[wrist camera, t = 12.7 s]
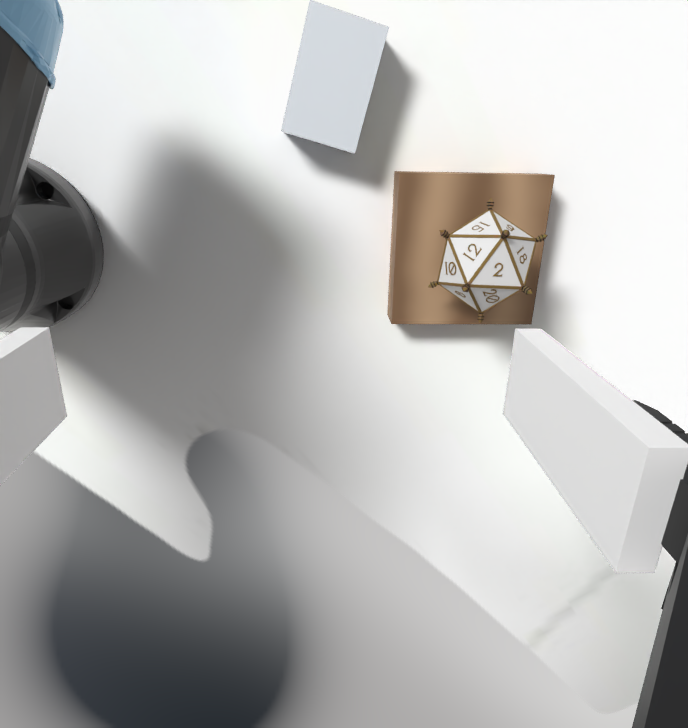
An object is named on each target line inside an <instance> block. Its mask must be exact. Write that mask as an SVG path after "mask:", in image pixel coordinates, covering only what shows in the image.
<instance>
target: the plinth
mask: <svg viewBox="0 0 688 728" xmlns="http://www.w3.org/2000/svg"><path fill="white" fill-rule="evenodd" d="M553 182H554V175H548V174H524V173H464V172H404V171H395V173H394V194H393V214H392V234H391V254H390V274H389V295H388V317H389V319H390V322H391V324H531V323H532V316H533V310H534V304H535V297H536V291H537V284H538V278H539V271H540V265H541V259H542V252H543V246H544V241H541V242H537V243H536V247H535V251H534V255H533V259H532V262H531V266H530V270H529V274H528V278H527V282H526V287H529V288H531V290H532V294H526V293H524V292H522V291H520V292H518V293H516V294H515V295H513V296H511V297H510V298H508V299H506V300H505V301H503V302H501V303H499V304H498V305H496V306H494V307H493V308H491V309H489V310H488V311H486V312H484V313H483V316H484V320H483V321H482V322H481V323H479V321H478V320H477V319H478V315H479V312H477V311H476V310H474V309H473V308H471V307H470V306H469V305H467V304H466V303H464V302H463V301H461V300H460V299H459V298H457V297H456V296H454V295H453V294H451V293H450V292H449V291H447V290H446V289H444V288H443V287H441V286H440V285H437V286H436V287H434V288H429V287H428V286H429V285H430V282H433V281H437V279H438V275H439V270H440V265H441V261H442V256H443V251H444V247H445V242H446V239H445V237H444V238H443V236H441V233H440V231H439V230H446V231H448V233H449V234H450V233H452V232H453V231H455V230H456V229H458V228H459V227H461V226H463V225H464V224H466V223H467V222H469V221H470V220H472V219H474V218H475V217H477V216H478V215H480V214H482V213H483V212H485V211H486V210H488V206H487V204H488V203H487V202H488V201H489V200H490V198H492V200H493V202H494V203H493V205H494V206H493V208H492V210H494V211H495V212H497V213H498V214H500V215H501V216H503V217H504V218H506V219H507V220H509V221H510V222H512V223H513V224H515V225H516V226H518V227H519V228H521V229H522V230H523V231H525V232H526V233H528V234H529V235H531V236H532V237H534V238H537V237H538V236H540V235H541V234H542V235H545V233H546V227H547V220H548V214H549V207H550V201H551V195H552V188H553Z"/></svg>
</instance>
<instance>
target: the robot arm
mask: <svg viewBox="0 0 688 728" xmlns="http://www.w3.org/2000/svg"><path fill="white" fill-rule="evenodd" d="M62 33H63V14H62V10H61V8H60V5H59V3H58V1H57V0H0V332H10V331H14V332H12V333H10V334H9V335H7V336H5V337H3V338H2V339H0V486H1V485H2V484H3V483H4V481H5V480H6V479H7V478H8V477H9V476H10V475H11V474H12V473H13V472H14V471H15V470H16V469H17V468H18V467H19V466H20V465H21V464H22V463H23V462H24V461H25V460H26V459H27V457H28V456H29V455H30V454H31V453H32V452H33V451H34V450H35V449H36V448H37V447H38V446H39V445H40V444H41V443H42V442H43V441H44V440H45V439H46V438H47V437H48V436H49V434H50V433H51V432H52V431H53V430H54V429H55V428H56V427H57V426H58V425H59V424H60V423H61V422H62V421H63V420H64V419H65V418H66V417H67V414H66V409H65V404H64V399H63V394H62V389H61V384H60V379H59V374H58V369H57V364H56V359H55V354H54V349H53V344H52V339H51V334H50V329H49V326H52V325H54V324H56V323H59V322H60V321H62V320H64V319H65V318H67V317H69V316H70V315H72V314H73V313H75V312H76V311H78V310H79V309H80V308H81V307H82V306H83V305H84V304H85V303H86V302H87V301H88V300H89V299H90V297H91V296H92V294H93V293H94V291H95V289H96V287H97V285H98V283H99V280H100V277H101V272H102V267H103V246H102V240H101V236H100V232H99V229H98V226H97V223H96V221H95V218H94V216H93V214H92V212H91V211H90V209H89V207H88V206H87V204H86V203H85V201H84V200H83V198H82V197H81V196H80V194H79V193H78V192H77V191H76V190H75V189H74V188H73V187H72V186H71V185H70V184H69V183H68V182H67V181H66V180H65V179H64V178H63V177H61V176H60V175H59V174H58V173H56V172H55V171H53V170H52V169H50V168H49V167H47V166H45V165H44V164H42V163H40V162H38V161H35V160H33V159H31V158H29V157H30V154H31V150H32V147H33V143H34V140H35V136H36V133H37V129H38V126H39V122H40V119H41V115H42V112H43V108H44V105H45V101H46V97H47V94H48V90H49V88H50V89H53V88H54V85H55V76H54V74H53V72H54V68H55V63H56V59H57V55H58V50H59V46H60V42H61V37H62ZM503 415H504V416H505V417H506V419H507V420H508V422H509V423H510V424H511V426H512V427H513V429H514V430H515V432H516V433H517V434H518V436H519V437H520V439H521V440H522V441H523V443H524V444H525V446H526V447H527V449H528V450H529V451H530V453H531V454H532V456H533V457H534V458H535V460H536V461H537V463H538V464H539V465H540V467H541V468H542V470H543V471H544V473H545V474H546V475H547V477H548V478H549V480H550V481H551V482H552V484H553V485H554V487H555V488H556V490H557V491H558V492H559V494H560V495H561V497H562V498H563V499H564V501H565V502H566V504H567V505H568V507H569V508H570V509H571V511H572V512H573V514H574V515H575V516H576V518H577V519H578V521H579V522H580V524H581V525H582V526H583V528H584V529H585V531H586V532H587V533H588V535H589V536H590V538H591V539H592V540H593V542H594V543H595V545H596V546H597V548H598V549H599V550H600V552H601V553H602V555H603V556H604V557H605V559H606V560H607V562H608V563H609V565H610V566H611V567H612V569H613V570H614V572H615V573H655V569H656V566H657V563H658V560H659V556H660V553H661V550H662V546H663V547H664V548H665V549H666V550H667V552H668V553H669V554H670V555H671V556H672V557H673V558H674V560H675V561H676V564H675V567H674V570H673V573H672V576H671V580H670V583H669V586H668V589H667V592H666V595H665V598H664V602H663V605H662V608H661V609H663V611H662V615H661V618H660V622H659V626H658V630H657V634H656V638H655V641H654V645H653V649H652V653H651V657H650V661H649V664H648V668H647V672H646V676H645V680H644V684H643V687H642V691H641V695H640V699H639V703H638V707H637V710H636V715H635V718H634V722H633V726H632V728H688V433H687V434H685V431H684V430H683V429H681V428H680V427H679V426H677V425H676V424H672V421H671V420H669V419H668V418H667V417H665V416H664V415H663V414H661V413H660V412H659V411H658V410H656V409H653V408H651V407H649V406H647V405H645V404H642V403H640V402H638V401H636V400H631V399H630V398H629V397H627V396H626V395H625V394H624V393H622V392H621V391H620V390H619V389H617V388H616V387H615V386H614V385H612V384H611V383H610V382H608V381H607V380H606V379H605V378H603V377H602V376H601V375H600V374H598V373H597V372H596V371H594V370H593V369H592V368H591V367H589V366H588V365H587V364H586V363H584V362H583V361H582V360H581V359H579V358H578V357H577V356H575V355H574V354H573V353H572V352H570V351H569V350H568V349H567V348H565V347H564V346H563V345H561V344H560V343H559V342H558V341H556V340H555V339H554V338H553V337H551V336H550V335H549V334H548V333H546V332H545V331H544V330H542V329H515V334H514V341H513V348H512V355H511V362H510V369H509V375H508V382H507V389H506V396H505V403H504V410H503Z"/></svg>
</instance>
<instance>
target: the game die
mask: <svg viewBox="0 0 688 728" xmlns="http://www.w3.org/2000/svg"><path fill="white" fill-rule="evenodd" d="M487 203H488V204H487V206H488V210H486V211H485V212H483V213H482V214H480V215H478V216H477V217H475V218H474V219H472V220H470V221H469V222H467V223H466V224H464V225H463V226H461V227H459V228H458V229H456V230H455V231H453V232H452V233H450V234H449V233H448V231H446V230H439V231H440V233H441V236H443V238H444V237H445V239H446V242H445V247H444V251H443V256H442V261H441V265H440V270H439V275H438V279H437V281H433V282H430V285H429V286H428V287H429V288H434V287H436V286H437V285H440V286H441V287H443V288H444V289H446V290H447V291H449V292H450V293H451V294H453V295H454V296H456V297H457V298H459V299H460V300H461V301H463V302H464V303H466V304H467V305H469V306H470V307H471V308H473V309H474V310H476V311H477V312H479V315H478V319H477V320H478V321H479V323H481V322H482V321H483V320H484V316H483V313H484V312H486V311H488V310H489V309H491V308H493V307H494V306H496V305H498V304H499V303H501V302H503V301H505V300H506V299H508V298H510V297H511V296H513V295H515V294H516V293H518V292H520V291H522V292H524V293H526V294H532V290H531V288H529V287H526V282H527V278H528V274H529V270H530V266H531V262H532V259H533V255H534V251H535V247H536V243H537V242H541V241H544V239H545V238H546V237H547V235H542V234H541V235H540V236H538V237H537V238H534V237H532V236H531V235H529V234H528V233H526V232H525V231H523V230H522V229H521V228H519V227H518V226H516V225H515V224H513V223H512V222H510V221H509V220H507V219H506V218H504V217H503V216H501V215H500V214H498V213H497V212H495V211H494V210H492V208H493V206H494V205H493V203H494V202H493V200H492V198H490V200H489V201H488V202H487Z"/></svg>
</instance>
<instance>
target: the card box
mask: <svg viewBox="0 0 688 728" xmlns="http://www.w3.org/2000/svg"><path fill="white" fill-rule="evenodd" d="M388 29H389V27H388V26H385V25H382V24H379V23H376V22H373V21H370V20H367V19H365V18H362V17H359V16H356V15H353V14H350V13H347V12H344V11H341V10H339V9H336V8H333V7H330V6H327V5H324V4H321V3H318V2H315V1H312V0H310V2H309V7H308V12H307V16H306V21H305V25H304V30H303V34H302V39H301V43H300V48H299V53H298V57H297V62H296V66H295V71H294V75H293V80H292V84H291V89H290V93H289V98H288V103H287V107H286V112H285V116H284V121H283V125H282V130H281V131H282V132H284V133H287V134H290V135H293V136H297V137H300V138H303V139H306V140H310V141H313V142H316V143H319V144H323V145H326V146H329V147H333V148H336V149H339V150H342V151H346V152H349V153H352V154H355V152H356V148H357V144H358V140H359V137H360V133H361V129H362V126H363V122H364V118H365V114H366V111H367V107H368V103H369V100H370V96H371V92H372V89H373V85H374V81H375V77H376V74H377V70H378V66H379V63H380V59H381V55H382V51H383V48H384V44H385V40H386V37H387V33H388Z"/></svg>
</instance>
